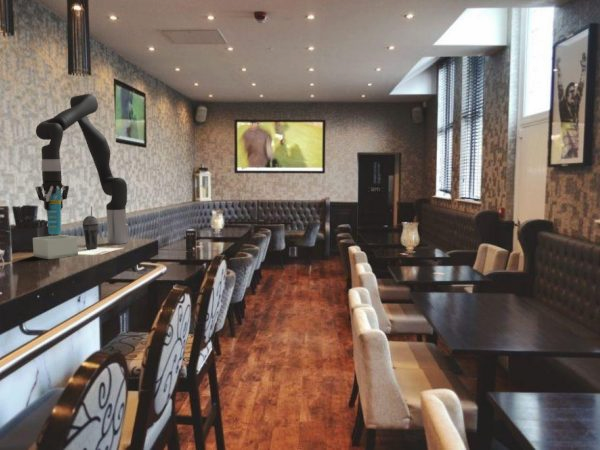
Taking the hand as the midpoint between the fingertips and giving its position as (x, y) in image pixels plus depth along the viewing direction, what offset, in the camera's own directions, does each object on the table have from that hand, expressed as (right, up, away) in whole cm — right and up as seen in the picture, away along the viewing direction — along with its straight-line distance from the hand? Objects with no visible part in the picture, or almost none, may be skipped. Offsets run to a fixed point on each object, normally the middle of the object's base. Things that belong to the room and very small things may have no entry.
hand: (53, 209), depth 233 cm
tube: (0, -11, +1) cm, 11 cm away
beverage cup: (+8, -18, +23) cm, 30 cm away
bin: (0, -20, +2) cm, 20 cm away
